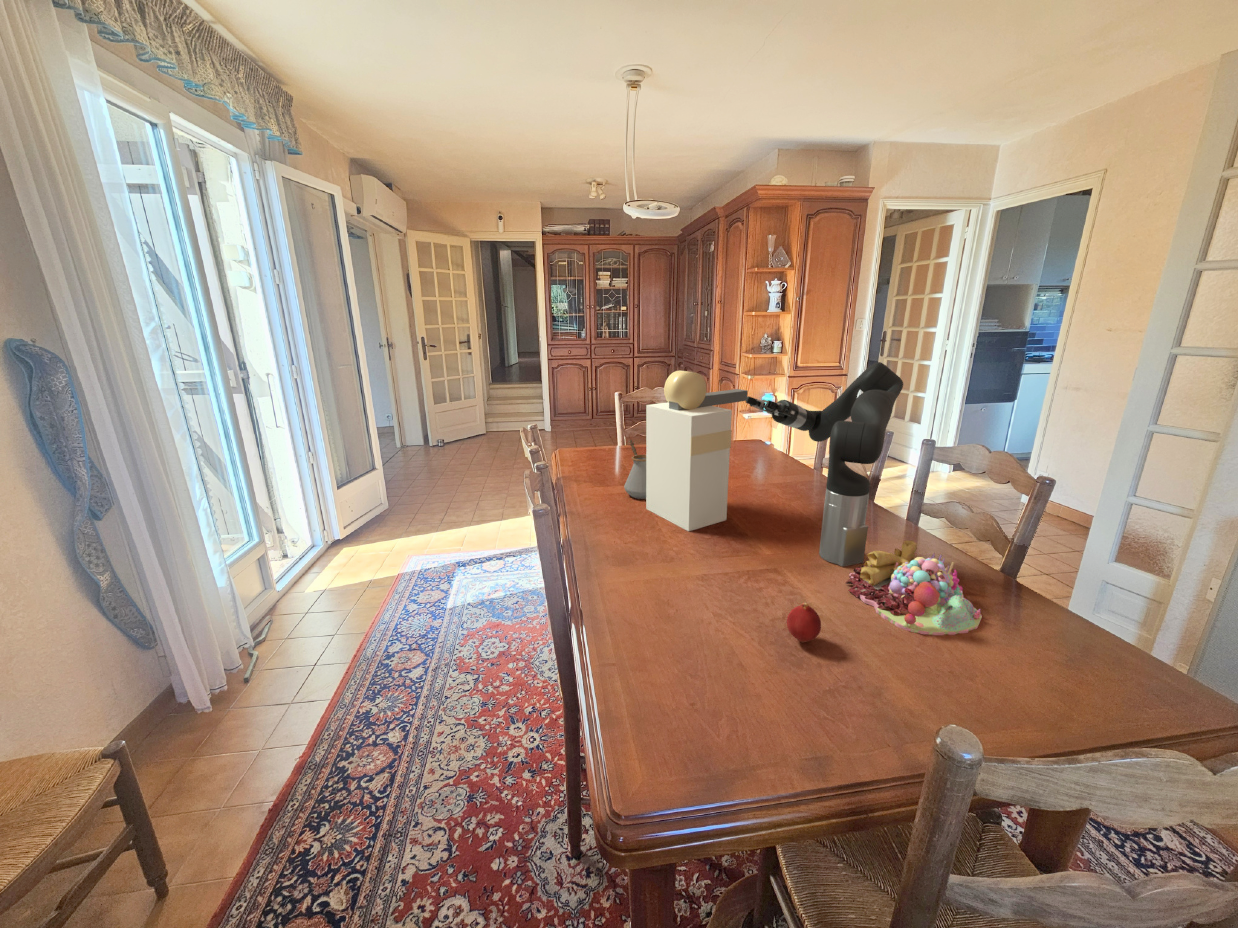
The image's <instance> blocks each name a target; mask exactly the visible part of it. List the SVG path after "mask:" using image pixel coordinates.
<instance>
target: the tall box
mask: <svg viewBox="0 0 1238 928" xmlns="http://www.w3.org/2000/svg"><path fill="white" fill-rule="evenodd" d="M645 406H646V407H645V408H646V411H645V412H646V413H645V414H646V416H645V419H646V424H645V425H646V426H645V427H646V428H645V431H646V433H645V434H646V435H645V437H646V438H645V439H646V443H645V445H646V452H645V453H646V454H645V455H646V499H645V500H646V501H645V504H646V506H645V507H646V508H645V509H646V510H647V511H649V512H652V513H653V514H655V515H657V516H658V517H660V518H663V519H665V520H667V521H668V522H670V523H672V524H674V525H675V526H677V527H679V528H681V529H683V530H685V531H687V532H692V531H694V530H698V529H702V528H704V527H707V526H710V525H715V524H717V523H721V522H724V521H727V513H728V492H729V491H728V490H729V477H730V475H729V473H730V457H731V456H730V452H731V448H732V414H733V412H732V411H733V410H732V409H729V408H723V407H718V406H716V405H714V406H707V407H700V408H695V409H692V410H689V409H686V410H679V411H678V410H673V409H669V403H668V402H667V401H666V402H660V403H653V404H646V405H645Z"/></svg>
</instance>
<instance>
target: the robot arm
mask: <svg viewBox="0 0 1238 928" xmlns="http://www.w3.org/2000/svg"><path fill="white" fill-rule="evenodd" d="M903 388H904V382H903V380H902V379H901V376H899V375H898V374H896V372H894V371H893V370H891V369H890V368H889V367H888V366H887V365H886V364H884V363H883V362H881V361H877V362H874V363H873V364H871V365H869V366H868V367H867V368H866V369H864V371H862V372H861V373H860V375H859V376H858V377H857V378H856V379H854V380H853V381H852V382H851V384H850V385H849V386H847V387H846V389H845V390H844V391H843V392H842V393H841V394H840V395H839V396H838V397H837V398H836V399H835V400H834V401H832V402H831V403H830V404H829V405H828V406H826V407H825V408H824V409H822V410H809V409H806V408H803V407H802V406H800V405H798V404H796V403H794V402H792V401H789V400H786V399H781V400H779V401H777V402H775V401H772V400H766V399H761V400H760V399H758V398H756V397H752V396H749V395H747V401H745V404H747V405H749V406H750V407H751V408H755V409H758V410H759V411H761V412H765V413H767V414H769V415H771V418H772V420H773V421H775V422H776V423H778V424H781V425H783V426H787V427H789V428H794V429H797V430H799V431H803V432H806V431H807V432H808V436H809V438H810V439H811V440H812V441H813V442H816V443H819V442H824V441H826V440H828V439H829V451H828V465H827V469H828V470H827V478H826V484H825V485H826V487H825V495H824V496H825V498H824V505H823V512H822V513H823V514H822V522H821V532H820V542H819V551H818V552H819V553H818V554H819V556H820V558H821V559H822V560H824V561H826V562H829V563H831V564H836V565H839V566H841V567H843V568H844V567H847V566H854V565H859V564H864V561H865V560H864V559H865V553H866V551H865V550H866V546H867V539H868V532H869V526H868V524H866V518H867V511H868V503H869V497H870V489H871V482H870V479H869V478H867V477H866V476H864V475H862V474H860V473H858V472H856V471H854V470H853V469H851V468H850V467H849V466H848V465H847V464H846V463H853V464H860V465H872V464H875V463H876V462H877V461H878V460H879V459H880V457H881V455H882V451H883V448H884V443H885V436H886V429H887V427H888V424H889V421H890V420H891V417H892V414H893V409H894V406H895V402H896V400H897V399H898V398H899V395H900V394H901V392H902V390H903ZM860 391H861V392H862V393H860ZM859 393H860V394H859ZM849 418H850V420H851V421H849V420H848V419H849Z"/></svg>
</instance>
